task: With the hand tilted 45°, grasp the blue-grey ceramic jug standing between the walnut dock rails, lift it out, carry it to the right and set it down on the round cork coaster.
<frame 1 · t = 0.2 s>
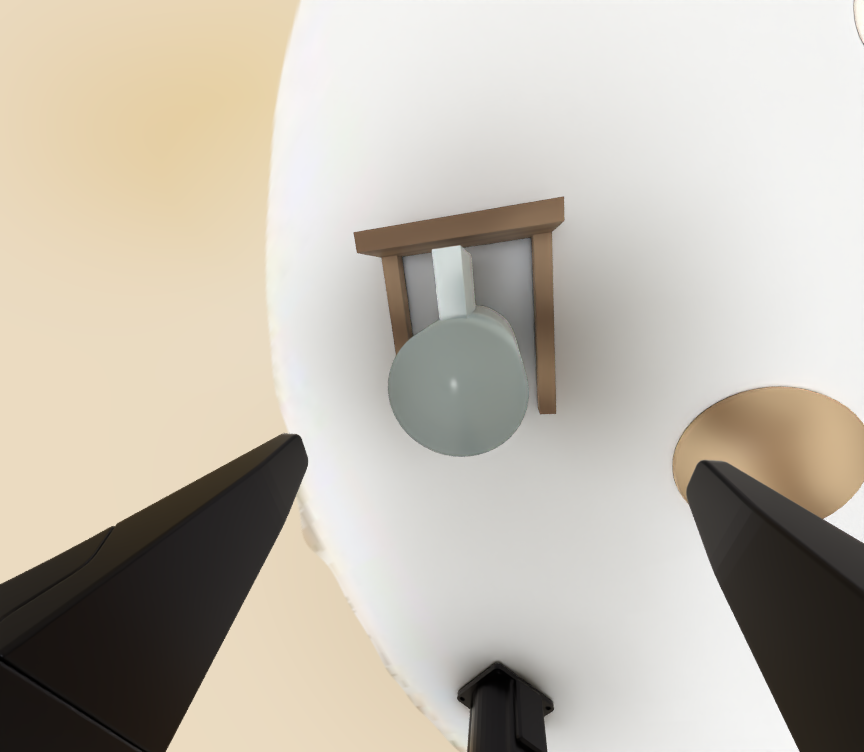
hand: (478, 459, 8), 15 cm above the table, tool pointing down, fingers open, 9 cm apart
jug: (472, 348, 22), on the table
coaster: (762, 461, 21), on the table
dock: (472, 348, 22), on the table
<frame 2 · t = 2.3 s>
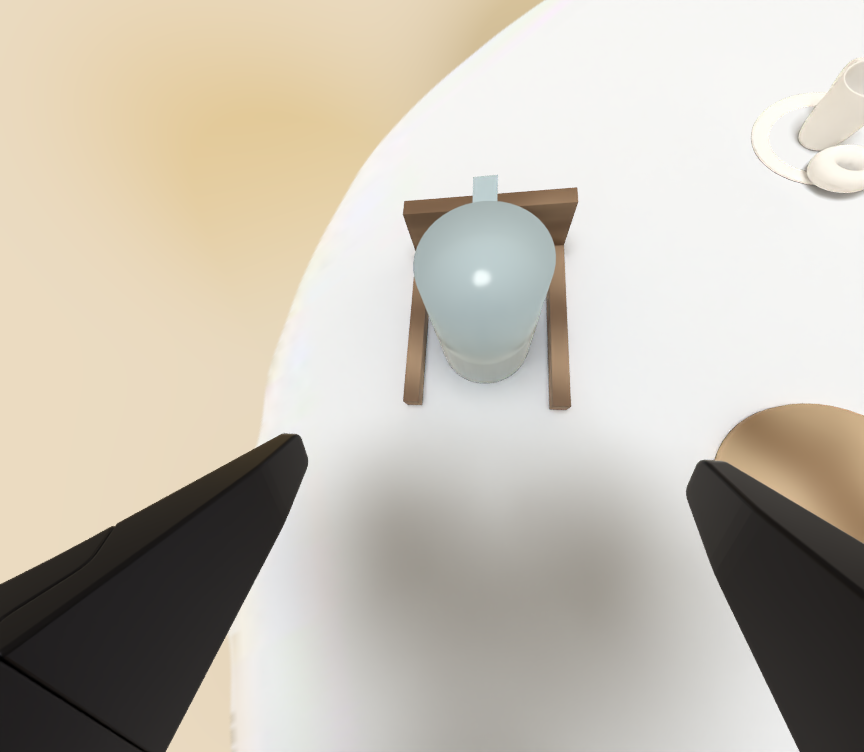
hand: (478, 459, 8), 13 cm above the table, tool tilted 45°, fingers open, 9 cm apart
jug: (485, 342, 23), on the table
coaster: (822, 499, 17), on the table
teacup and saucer: (770, 168, 23), on the table
dock: (485, 342, 23), on the table
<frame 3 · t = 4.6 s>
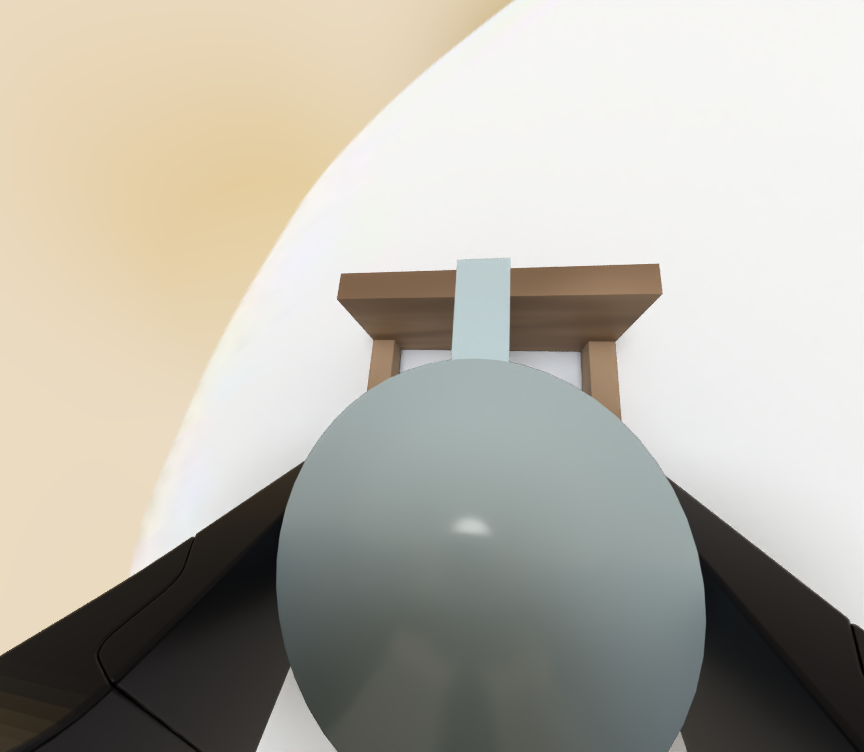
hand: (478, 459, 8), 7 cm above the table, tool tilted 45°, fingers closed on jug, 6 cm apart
jug: (482, 498, 14), on the table, touching gripper
dock: (482, 498, 14), on the table
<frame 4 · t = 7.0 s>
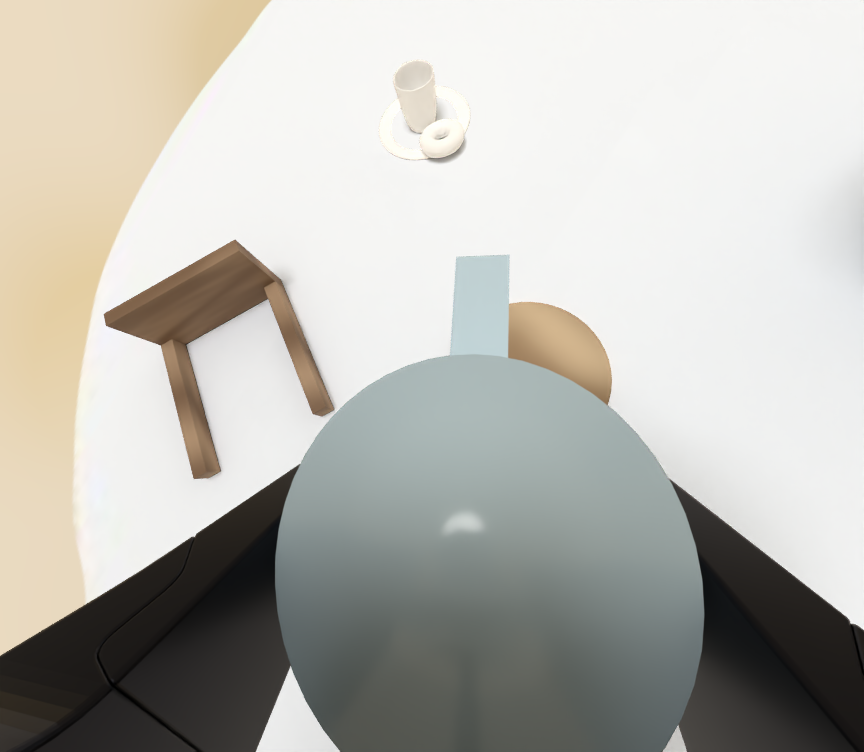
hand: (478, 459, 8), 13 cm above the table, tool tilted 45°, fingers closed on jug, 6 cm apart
jug: (481, 496, 14), point 7 cm above the table, touching gripper
coaster: (525, 376, 21), on the table
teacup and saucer: (406, 156, 28), on the table
dock: (252, 389, 24), on the table
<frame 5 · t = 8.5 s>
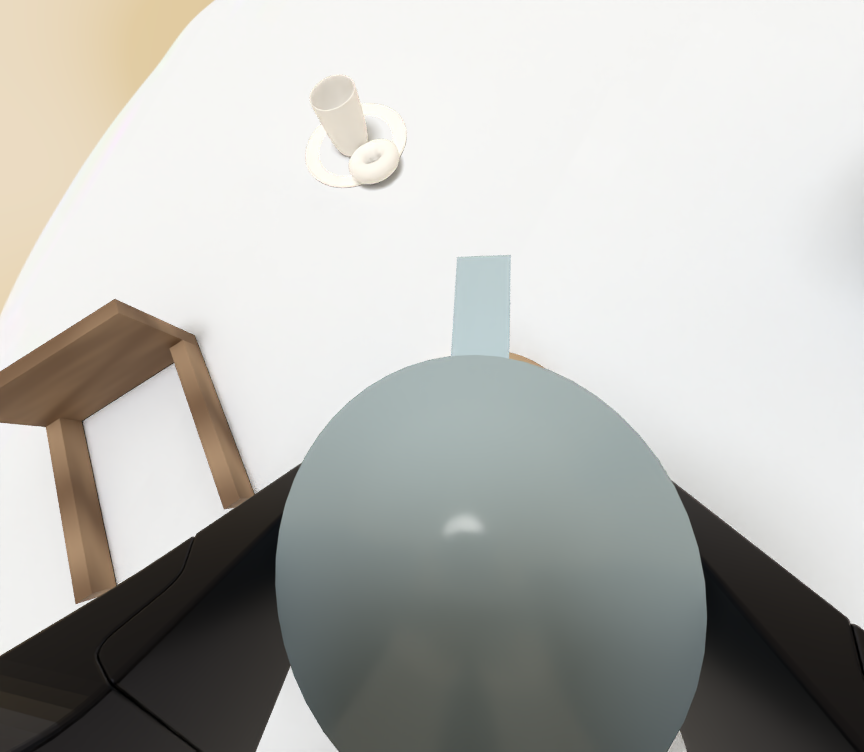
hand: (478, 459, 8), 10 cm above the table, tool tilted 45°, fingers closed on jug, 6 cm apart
jug: (482, 497, 14), point 3 cm above the table, touching gripper
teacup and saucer: (337, 183, 25), on the table
dock: (158, 474, 20), on the table
when the fingers open (8 cm above the table, at t = 9.5 s): jug stays where it is, resting on coaster.
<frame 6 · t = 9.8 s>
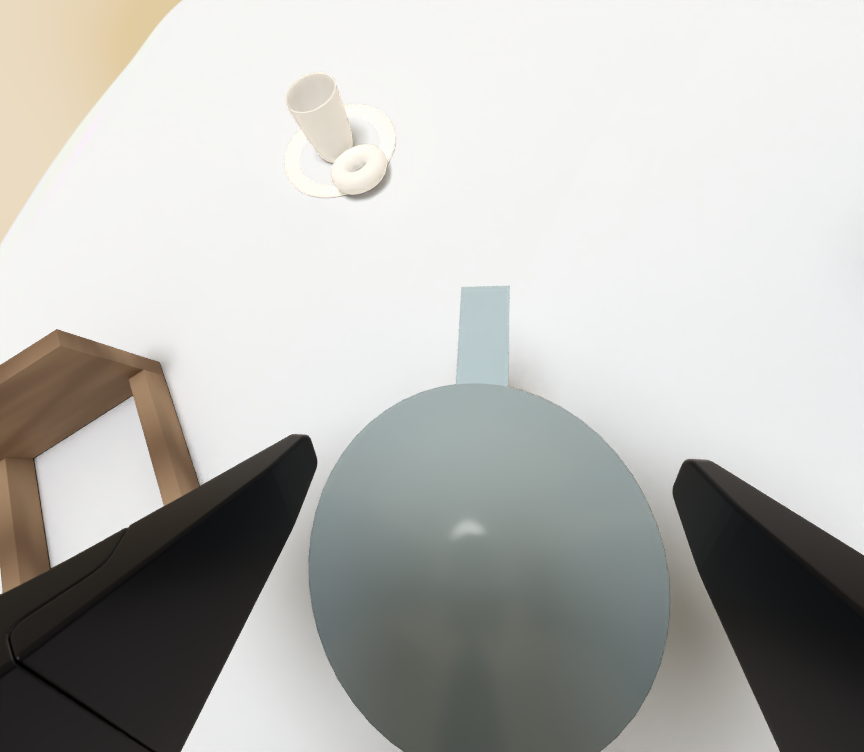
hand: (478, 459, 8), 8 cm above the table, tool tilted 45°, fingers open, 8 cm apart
jug: (483, 500, 14), point 1 cm above the table, touching coaster
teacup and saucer: (320, 193, 22), on the table
dock: (114, 523, 18), on the table
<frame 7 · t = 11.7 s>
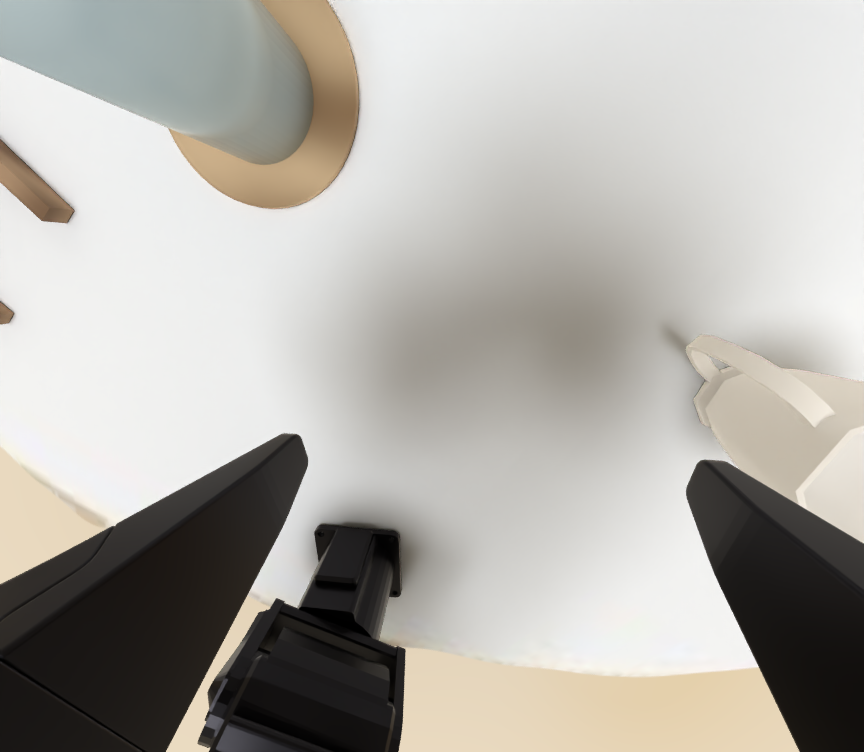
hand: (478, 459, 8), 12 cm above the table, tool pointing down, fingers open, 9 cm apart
jug: (254, 94, 16), point 1 cm above the table, touching coaster
coaster: (259, 95, 16), on the table
cup: (715, 380, 19), on the table
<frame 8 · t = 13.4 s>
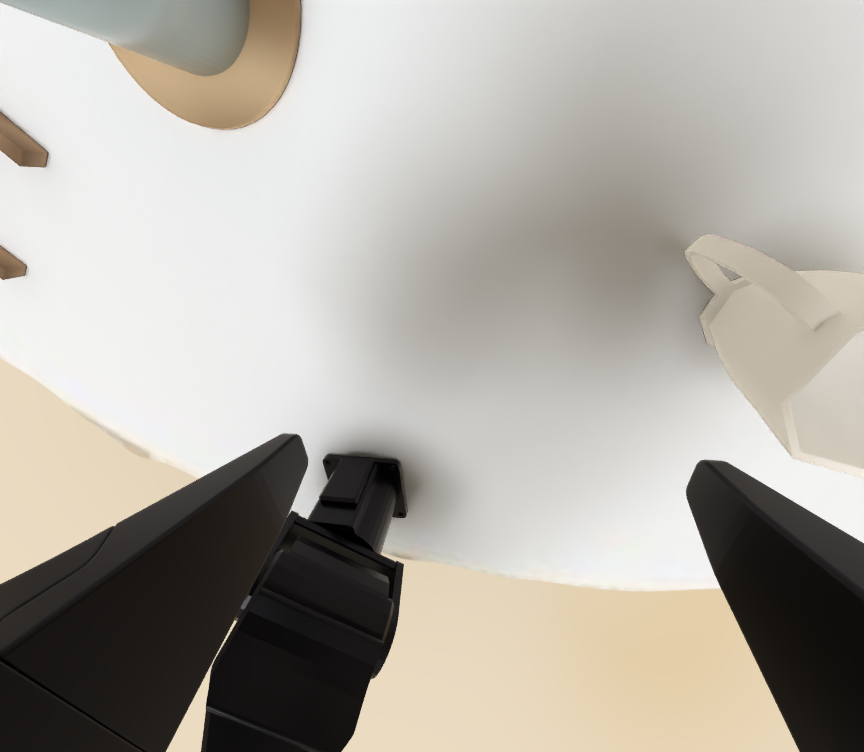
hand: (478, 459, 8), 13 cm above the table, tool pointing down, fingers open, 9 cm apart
cup: (727, 293, 17), on the table
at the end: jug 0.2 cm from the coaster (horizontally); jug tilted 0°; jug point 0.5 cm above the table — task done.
